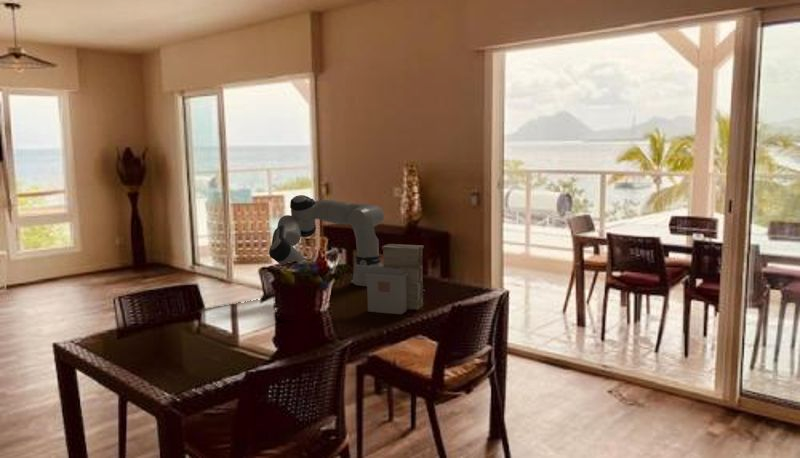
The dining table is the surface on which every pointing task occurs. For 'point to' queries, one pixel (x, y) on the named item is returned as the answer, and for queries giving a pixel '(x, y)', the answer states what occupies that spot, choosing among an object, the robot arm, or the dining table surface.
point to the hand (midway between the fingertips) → (330, 255)
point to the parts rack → (386, 293)
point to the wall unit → (408, 269)
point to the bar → (380, 269)
